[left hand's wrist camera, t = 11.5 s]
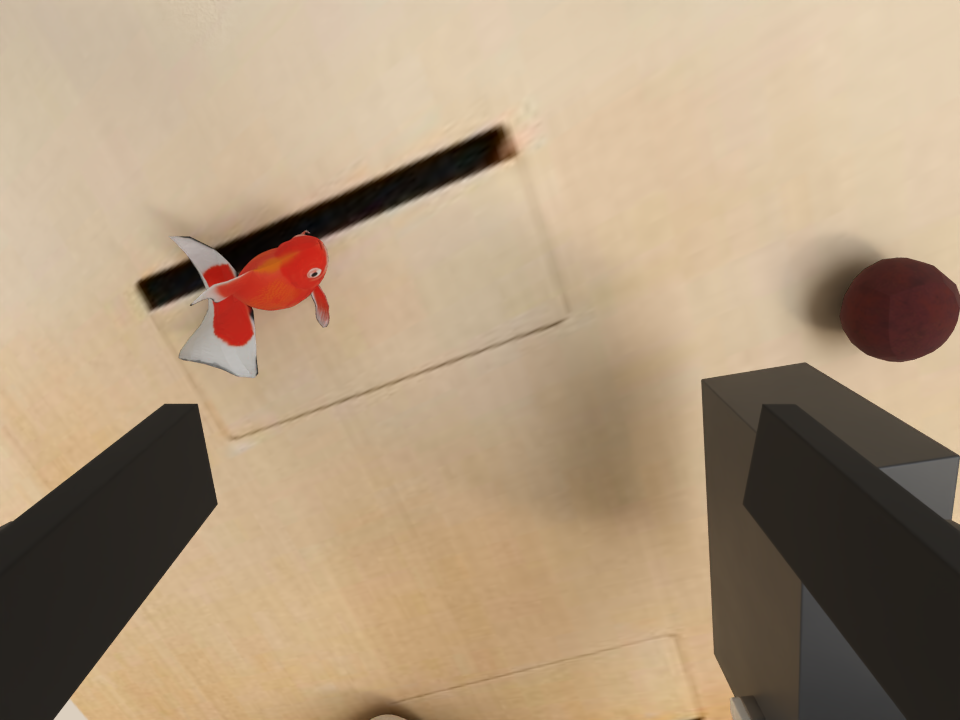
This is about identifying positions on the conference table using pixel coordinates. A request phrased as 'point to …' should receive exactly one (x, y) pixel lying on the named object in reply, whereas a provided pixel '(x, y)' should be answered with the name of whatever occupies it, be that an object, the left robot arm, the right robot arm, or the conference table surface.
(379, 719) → the projector
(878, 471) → the left robot arm
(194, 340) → the fish
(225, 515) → the conference table surface
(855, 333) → the potato
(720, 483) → the box
